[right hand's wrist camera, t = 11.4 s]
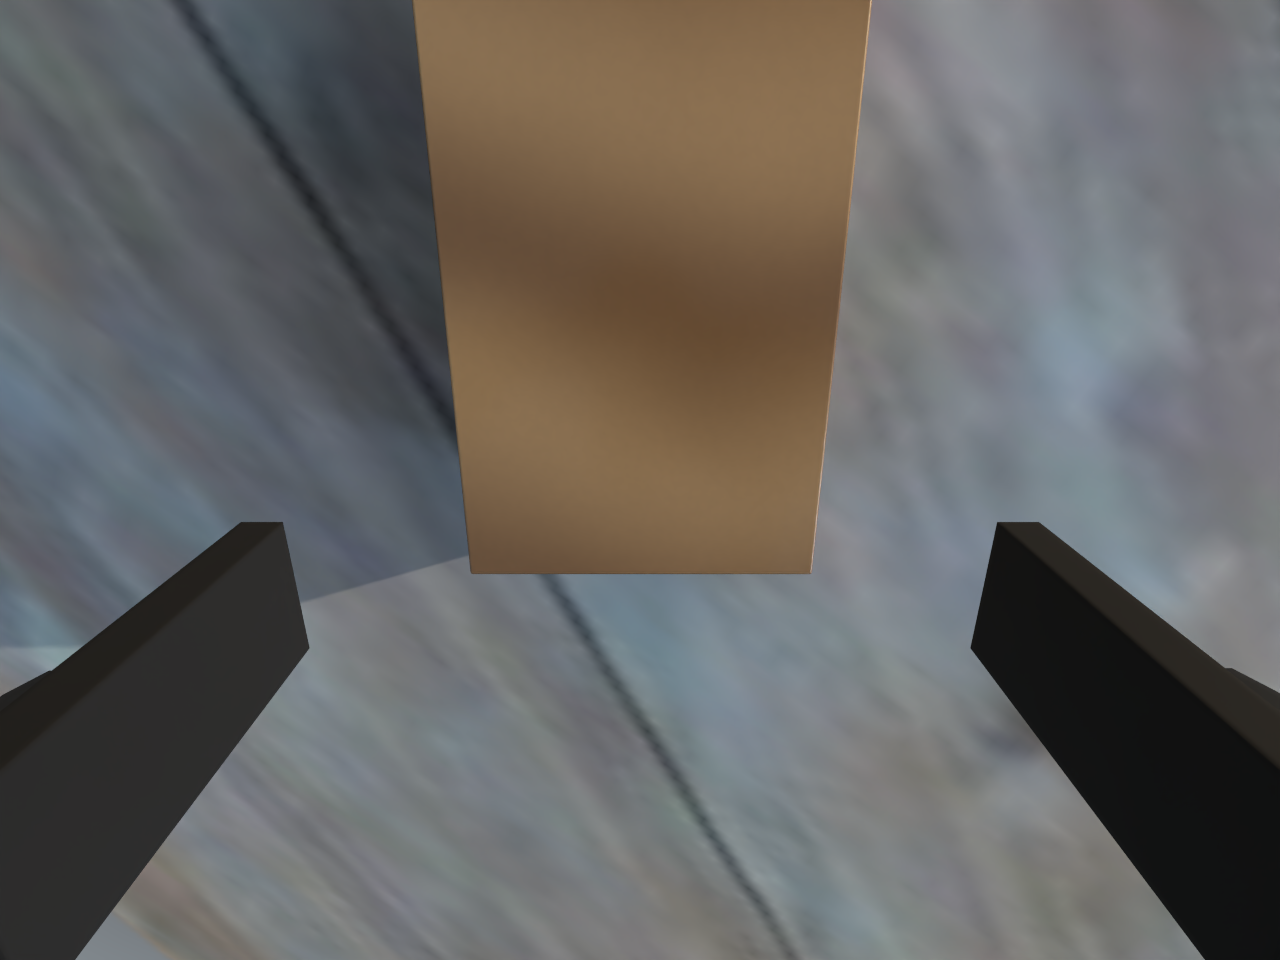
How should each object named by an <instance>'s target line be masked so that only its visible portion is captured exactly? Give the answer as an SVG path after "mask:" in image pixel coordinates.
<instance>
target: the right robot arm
mask: <svg viewBox="0 0 1280 960" xmlns="http://www.w3.org/2000/svg"><path fill="white" fill-rule="evenodd" d="M308 649H309V644H308V639H307V634H306V629H305V625H304V620H303V615H302V611H301V606H300V601H299V597H298V592H297V587H296V582H295V578H294V573H293V568H292V564H291V559H290V554H289V549H288V545H287V540H286V535H285V531H284V526H283V522H241V523H239V524H238V525H237V526H236V527H234V528H233V529H232V530H230V531H229V532H228V533H227V534H225V535H224V536H223V537H222V538H220V539H219V540H218V541H216V542H215V543H214V544H213V545H211V546H210V547H209V548H208V549H206V550H205V551H204V552H202V553H201V554H200V555H199V556H197V557H196V558H195V559H194V560H192V561H191V562H190V563H188V564H187V565H186V566H185V567H183V568H182V569H181V570H180V571H178V572H177V573H176V574H174V575H173V576H172V577H171V578H169V579H168V580H167V581H166V582H164V583H163V584H162V585H160V586H159V587H158V588H157V589H155V590H154V591H153V592H152V593H150V594H149V595H148V596H146V597H145V598H144V599H143V600H141V601H140V602H139V603H138V604H136V605H135V606H134V607H132V608H131V609H130V610H129V611H127V612H126V613H125V614H123V615H122V616H121V617H120V618H118V619H117V620H116V621H115V622H113V623H112V624H111V625H109V626H108V627H107V628H106V629H104V630H103V631H102V632H101V633H99V634H98V635H97V636H95V637H94V638H93V639H92V640H90V641H89V642H88V643H87V644H85V645H84V646H83V647H81V648H80V649H79V650H78V651H76V652H75V653H74V654H73V655H71V656H70V657H69V658H67V659H66V660H65V661H64V662H62V663H61V664H60V665H59V666H57V667H56V668H55V669H53V670H52V671H48V672H46V673H44V674H42V675H40V676H38V677H36V678H34V679H32V680H30V681H28V682H27V683H25V684H23V685H21V686H19V687H17V688H15V689H13V690H11V691H9V692H7V693H5V694H4V695H2V696H1V697H0V960H75V959H76V958H77V956H78V955H79V954H80V952H81V951H82V950H83V948H84V947H85V946H86V944H87V943H88V942H89V940H90V939H91V938H92V936H93V935H94V934H95V932H96V931H97V930H98V928H99V927H100V926H101V924H102V923H103V922H104V921H105V919H106V918H107V917H108V915H109V914H110V913H111V911H112V910H113V909H114V907H115V906H116V905H117V903H118V902H119V901H120V899H121V898H122V897H123V895H124V894H125V893H126V891H127V890H128V889H129V887H130V886H131V885H132V883H133V882H134V881H135V879H136V878H137V877H138V875H139V874H140V873H141V871H142V870H143V869H144V867H145V866H146V865H147V863H148V862H149V861H150V859H151V858H152V857H153V855H154V854H155V853H156V851H157V850H158V849H159V847H160V846H161V845H162V843H163V842H164V841H165V839H166V838H167V837H168V835H169V834H170V833H171V831H172V830H173V829H174V827H175V826H176V825H177V823H178V822H179V821H180V820H181V818H182V817H183V816H184V814H185V813H186V812H187V810H188V809H189V808H190V806H191V805H192V804H193V802H194V801H195V800H196V798H197V797H198V796H199V794H200V793H201V792H202V790H203V789H204V788H205V786H206V785H207V784H208V782H209V781H210V780H211V778H212V777H213V776H214V774H215V773H216V772H217V770H218V769H219V768H220V766H221V765H222V764H223V762H224V761H225V760H226V758H227V757H228V756H229V754H230V753H231V752H232V750H233V749H234V748H235V746H236V745H237V744H238V742H239V741H240V740H241V738H242V737H243V736H244V734H245V733H246V732H247V730H248V729H249V728H250V726H251V725H252V724H253V722H254V721H255V720H256V719H257V717H258V716H259V715H260V713H261V712H262V711H263V709H264V708H265V707H266V705H267V704H268V703H269V701H270V700H271V699H272V697H273V696H274V695H275V693H276V692H277V691H278V689H279V688H280V687H281V685H282V684H283V683H284V681H285V680H286V679H287V677H288V676H289V675H290V673H291V672H292V671H293V669H294V668H295V667H296V665H297V664H298V663H299V661H300V660H301V659H302V657H303V656H304V655H305V653H306V652H307V651H308ZM971 649H972V651H973V652H974V653H975V655H976V656H977V657H978V659H979V660H980V661H981V663H982V664H983V665H984V667H985V668H986V669H987V671H988V672H989V673H990V675H991V676H992V677H993V679H994V680H995V681H996V683H997V684H998V685H999V687H1000V688H1001V689H1002V691H1003V692H1004V693H1005V695H1006V696H1007V697H1008V699H1009V700H1010V701H1011V703H1012V704H1013V705H1014V707H1015V708H1016V709H1017V711H1018V712H1019V713H1020V715H1021V716H1022V717H1023V719H1024V720H1025V721H1026V722H1027V724H1028V725H1029V726H1030V728H1031V729H1032V730H1033V732H1034V733H1035V734H1036V736H1037V737H1038V738H1039V740H1040V741H1041V742H1042V744H1043V745H1044V746H1045V748H1046V749H1047V750H1048V752H1049V753H1050V754H1051V756H1052V757H1053V758H1054V760H1055V761H1056V762H1057V764H1058V765H1059V766H1060V768H1061V769H1062V770H1063V772H1064V773H1065V774H1066V776H1067V777H1068V778H1069V780H1070V781H1071V782H1072V784H1073V785H1074V786H1075V788H1076V789H1077V790H1078V792H1079V793H1080V794H1081V796H1082V797H1083V798H1084V800H1085V801H1086V802H1087V804H1088V805H1089V806H1090V808H1091V809H1092V810H1093V812H1094V813H1095V814H1096V816H1097V817H1098V818H1099V820H1100V821H1101V822H1102V824H1103V825H1104V826H1105V827H1106V829H1107V830H1108V831H1109V833H1110V834H1111V835H1112V837H1113V838H1114V839H1115V841H1116V842H1117V843H1118V845H1119V846H1120V847H1121V849H1122V850H1123V851H1124V853H1125V854H1126V855H1127V857H1128V858H1129V859H1130V861H1131V862H1132V863H1133V865H1134V866H1135V867H1136V869H1137V870H1138V871H1139V873H1140V874H1141V875H1142V877H1143V878H1144V879H1145V881H1146V882H1147V883H1148V885H1149V886H1150V887H1151V889H1152V890H1153V891H1154V893H1155V894H1156V895H1157V897H1158V898H1159V899H1160V901H1161V902H1162V903H1163V905H1164V906H1165V907H1166V909H1167V910H1168V911H1169V913H1170V914H1171V915H1172V917H1173V918H1174V919H1175V921H1176V922H1177V923H1178V925H1179V926H1180V927H1181V928H1182V930H1183V931H1184V932H1185V934H1186V935H1187V936H1188V938H1189V939H1190V940H1191V942H1192V943H1193V944H1194V946H1195V947H1196V948H1197V950H1198V951H1199V952H1200V954H1201V955H1202V956H1203V958H1204V959H1205V960H1280V693H1278V692H1277V691H1275V690H1273V689H1271V688H1269V687H1267V686H1265V685H1263V684H1261V683H1259V682H1257V681H1255V680H1253V679H1251V678H1250V677H1248V676H1246V675H1244V674H1242V673H1240V672H1238V671H1236V670H1234V669H1232V668H1224V667H1223V666H1221V665H1220V664H1219V663H1218V662H1216V661H1215V660H1214V659H1213V658H1211V657H1210V656H1209V655H1207V654H1206V653H1205V652H1204V651H1202V650H1201V649H1200V648H1199V647H1197V646H1196V645H1195V644H1193V643H1192V642H1191V641H1190V640H1188V639H1187V638H1186V637H1185V636H1183V635H1182V634H1181V633H1179V632H1178V631H1177V630H1176V629H1174V628H1173V627H1172V626H1171V625H1169V624H1168V623H1167V622H1165V621H1164V620H1163V619H1162V618H1160V617H1159V616H1158V615H1157V614H1155V613H1154V612H1153V611H1151V610H1150V609H1149V608H1148V607H1146V606H1145V605H1144V604H1142V603H1141V602H1140V601H1139V600H1137V599H1136V598H1135V597H1134V596H1132V595H1131V594H1130V593H1128V592H1127V591H1126V590H1125V589H1123V588H1122V587H1121V586H1120V585H1118V584H1117V583H1116V582H1114V581H1113V580H1112V579H1111V578H1109V577H1108V576H1107V575H1106V574H1104V573H1103V572H1102V571H1100V570H1099V569H1098V568H1097V567H1095V566H1094V565H1093V564H1092V563H1090V562H1089V561H1088V560H1086V559H1085V558H1084V557H1083V556H1081V555H1080V554H1079V553H1078V552H1076V551H1075V550H1074V549H1072V548H1071V547H1070V546H1069V545H1067V544H1066V543H1065V542H1064V541H1062V540H1061V539H1060V538H1058V537H1057V536H1056V535H1055V534H1053V533H1052V532H1051V531H1050V530H1048V529H1047V528H1046V527H1044V526H1043V525H1042V524H1041V523H1039V522H997V526H996V531H995V535H994V540H993V545H992V549H991V554H990V559H989V564H988V568H987V573H986V578H985V582H984V587H983V592H982V597H981V601H980V606H979V611H978V615H977V620H976V625H975V629H974V634H973V639H972V644H971Z"/></svg>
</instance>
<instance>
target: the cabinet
mask: <svg viewBox="0 0 1280 960" xmlns="http://www.w3.org/2000/svg"><path fill="white" fill-rule="evenodd" d="M412 5H413V15H414V25H415V34H416V44H417V54H418V64H419V73H420V83H421V93H422V103H423V112H424V122H425V132H426V142H427V151H428V161H429V171H430V181H431V190H432V200H433V210H434V220H435V229H436V239H437V249H438V259H439V268H440V278H441V288H442V298H443V307H444V317H445V327H446V337H447V346H448V356H449V366H450V376H451V385H452V395H453V405H454V415H455V424H456V434H457V444H458V454H459V463H460V473H461V483H462V492H463V502H464V512H465V522H466V531H467V541H468V551H469V561H470V570H471V574H811V572H812V564H813V555H814V546H815V536H816V527H817V517H818V508H819V498H820V489H821V479H822V470H823V460H824V451H825V441H826V432H827V422H828V413H829V403H830V394H831V384H832V375H833V365H834V356H835V346H836V337H837V328H838V318H839V309H840V299H841V290H842V280H843V271H844V261H845V252H846V242H847V233H848V223H849V214H850V204H851V195H852V185H853V176H854V166H855V157H856V147H857V138H858V128H859V119H860V110H861V100H862V91H863V81H864V72H865V62H866V53H867V43H868V34H869V24H870V15H871V5H872V0H412Z"/></svg>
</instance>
